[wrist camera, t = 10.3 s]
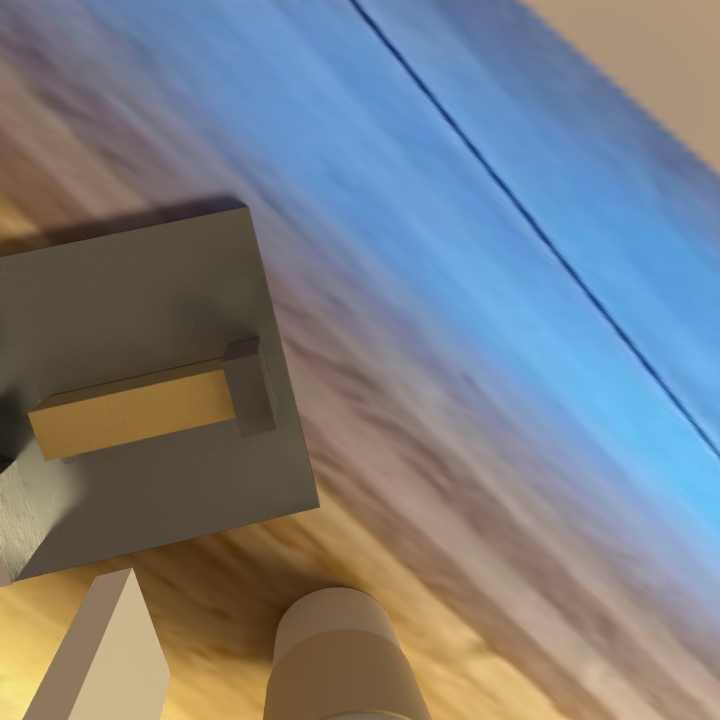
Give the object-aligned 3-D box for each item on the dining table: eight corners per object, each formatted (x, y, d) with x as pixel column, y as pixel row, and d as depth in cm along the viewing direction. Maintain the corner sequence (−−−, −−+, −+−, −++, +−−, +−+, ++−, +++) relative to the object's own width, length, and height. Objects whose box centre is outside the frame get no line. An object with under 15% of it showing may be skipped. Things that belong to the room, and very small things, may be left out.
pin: (66, 453, 30) (39, 484, 27) (43, 385, 29) (11, 409, 26) (276, 404, 31) (276, 429, 28) (260, 337, 30) (257, 354, 27)
